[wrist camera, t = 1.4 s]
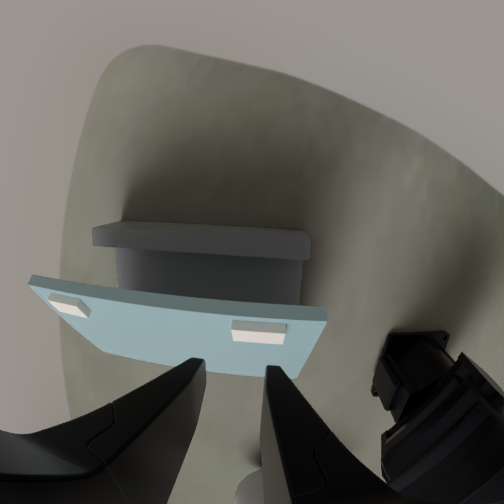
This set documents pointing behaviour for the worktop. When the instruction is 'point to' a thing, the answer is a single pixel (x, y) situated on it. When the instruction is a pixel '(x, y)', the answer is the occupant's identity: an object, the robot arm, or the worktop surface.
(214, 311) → the cover
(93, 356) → the worktop surface
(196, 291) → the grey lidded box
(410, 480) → the robot arm
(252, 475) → the donut
